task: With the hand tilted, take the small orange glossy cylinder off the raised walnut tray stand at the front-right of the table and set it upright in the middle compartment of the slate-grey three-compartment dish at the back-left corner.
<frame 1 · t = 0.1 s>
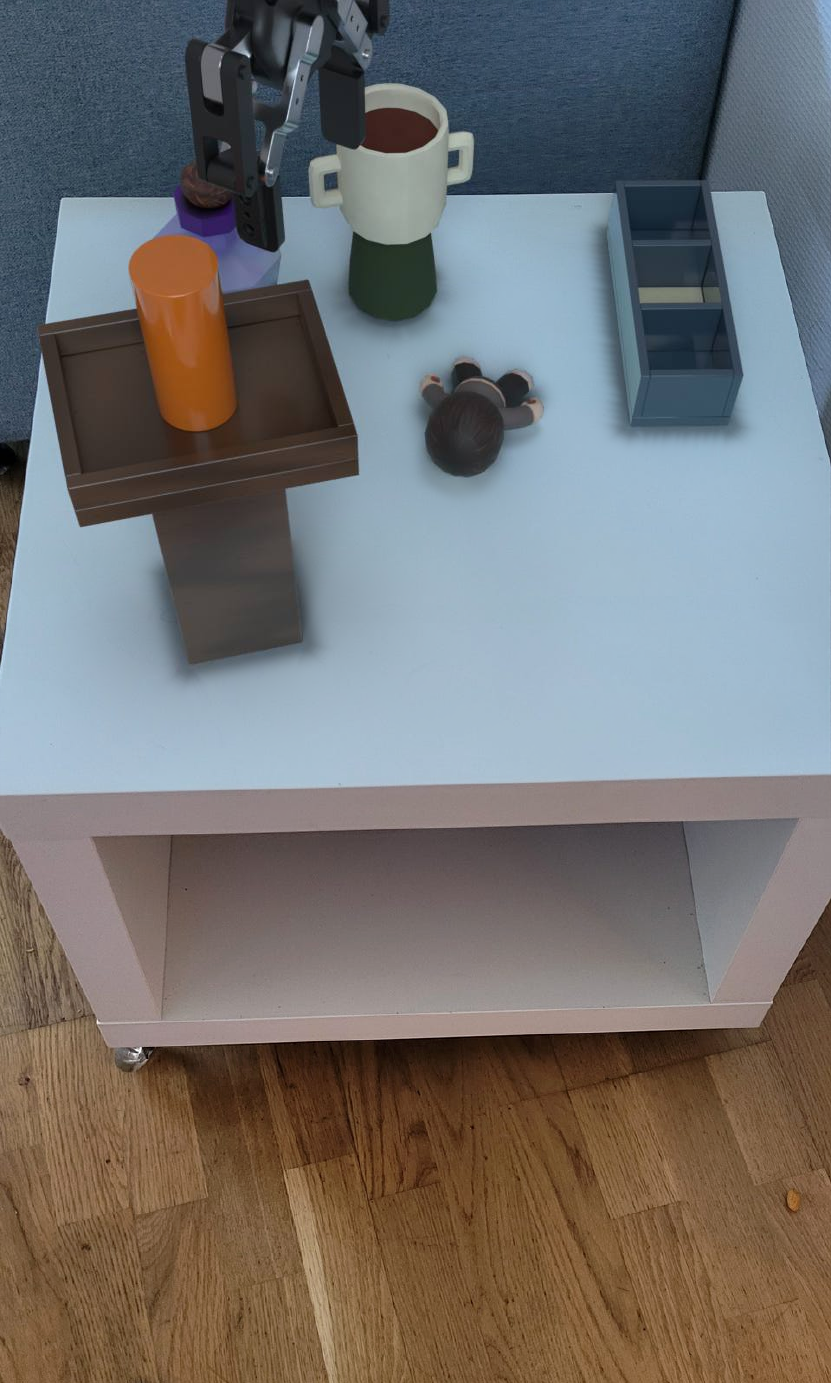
hand: (304, 191, 65), 21 cm above the table, tool pointing down, fingers open, 8 cm apart
character mug: (392, 298, 92), on the table
potion bottle: (228, 337, 91), on the table
orange glossy cylinder: (197, 402, 66), point 17 cm above the table, touching walnut tray stand
walnut tray stand: (235, 608, 81), on the table
three-compartment dish: (664, 326, 91), on the table
figurine: (472, 439, 87), on the table
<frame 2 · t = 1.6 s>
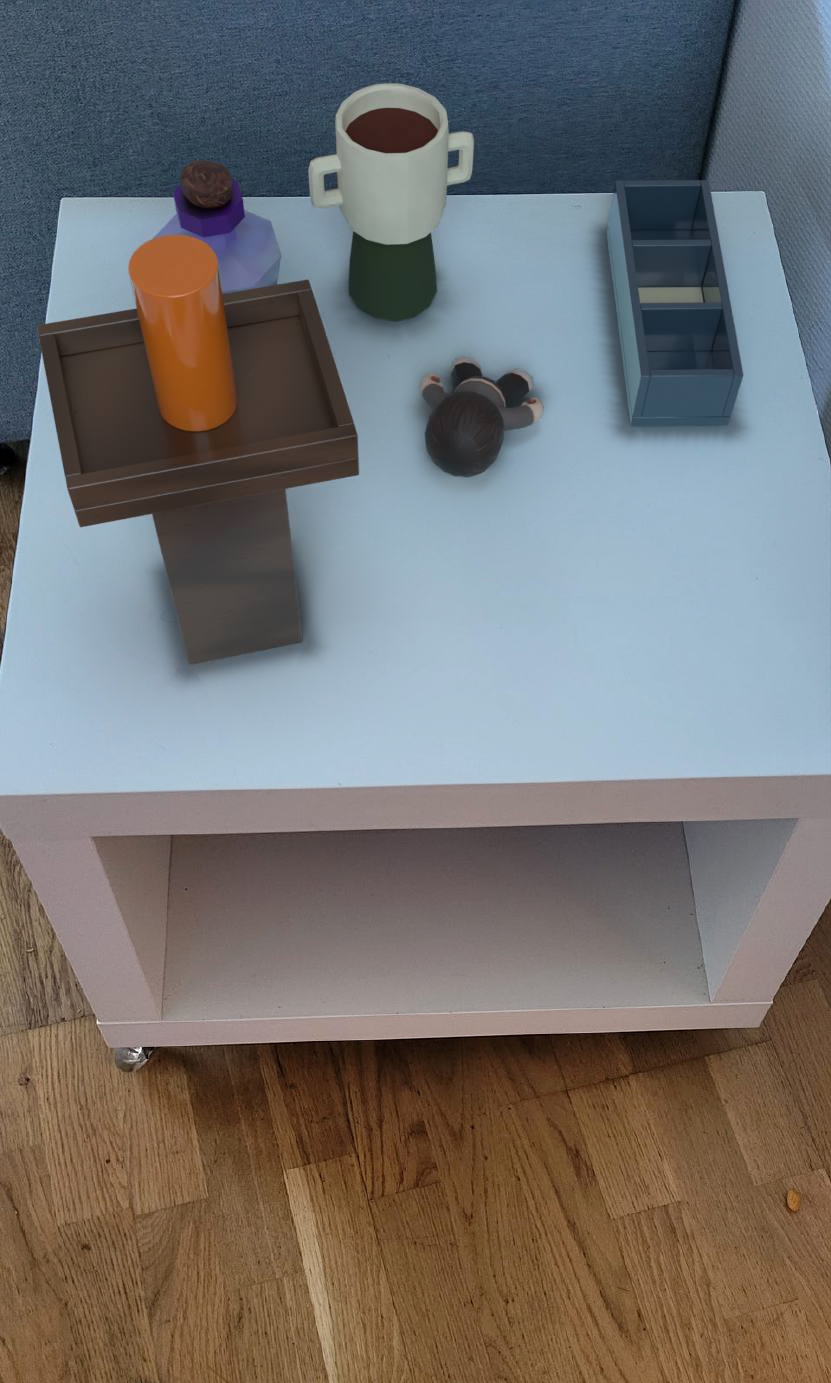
nothing on the table moved.
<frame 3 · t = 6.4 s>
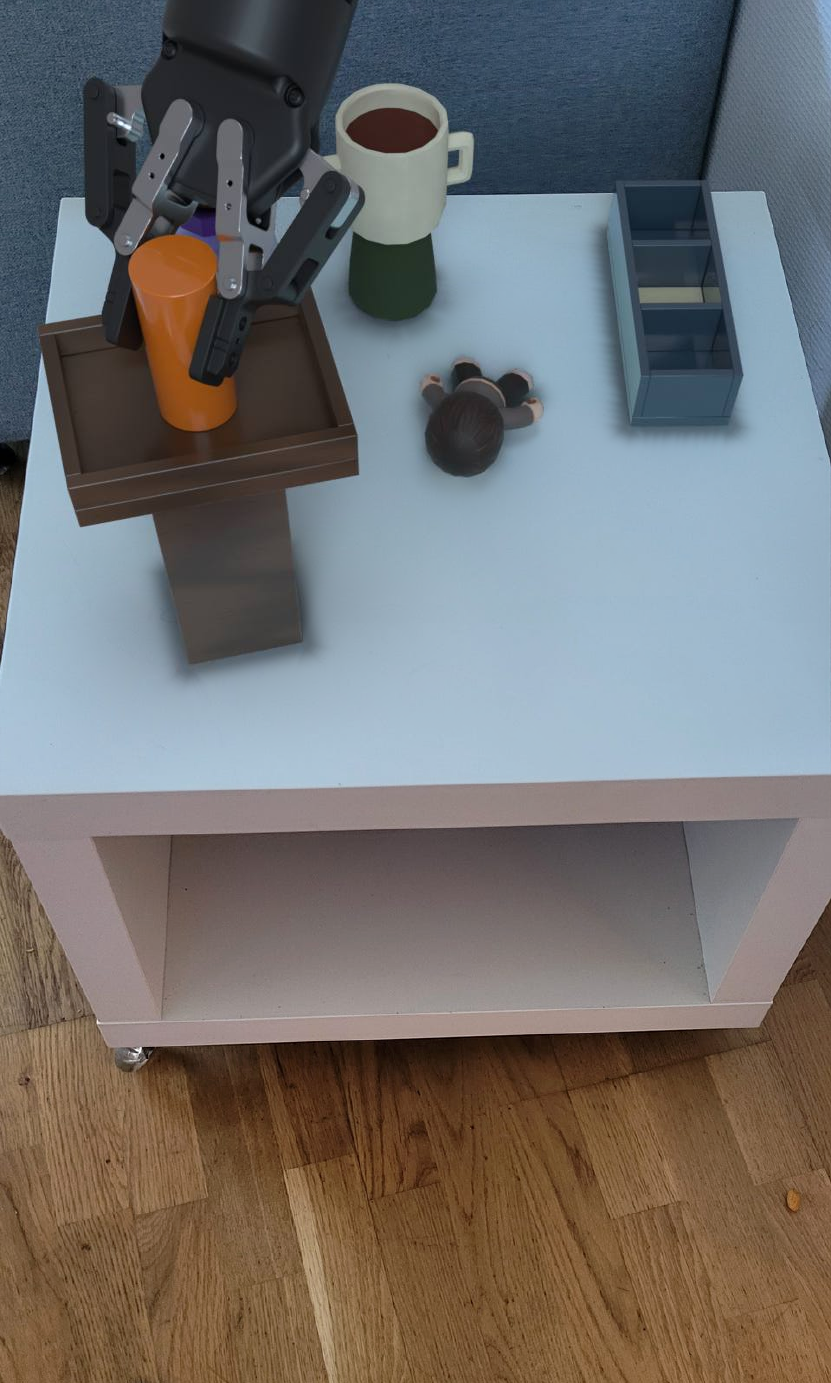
hand: (163, 362, 61), 21 cm above the table, tool tilted 45°, fingers closed on orange glossy cylinder, 4 cm apart
orange glossy cylinder: (198, 402, 66), point 17 cm above the table, touching gripper, walnut tray stand
everything else where it was.
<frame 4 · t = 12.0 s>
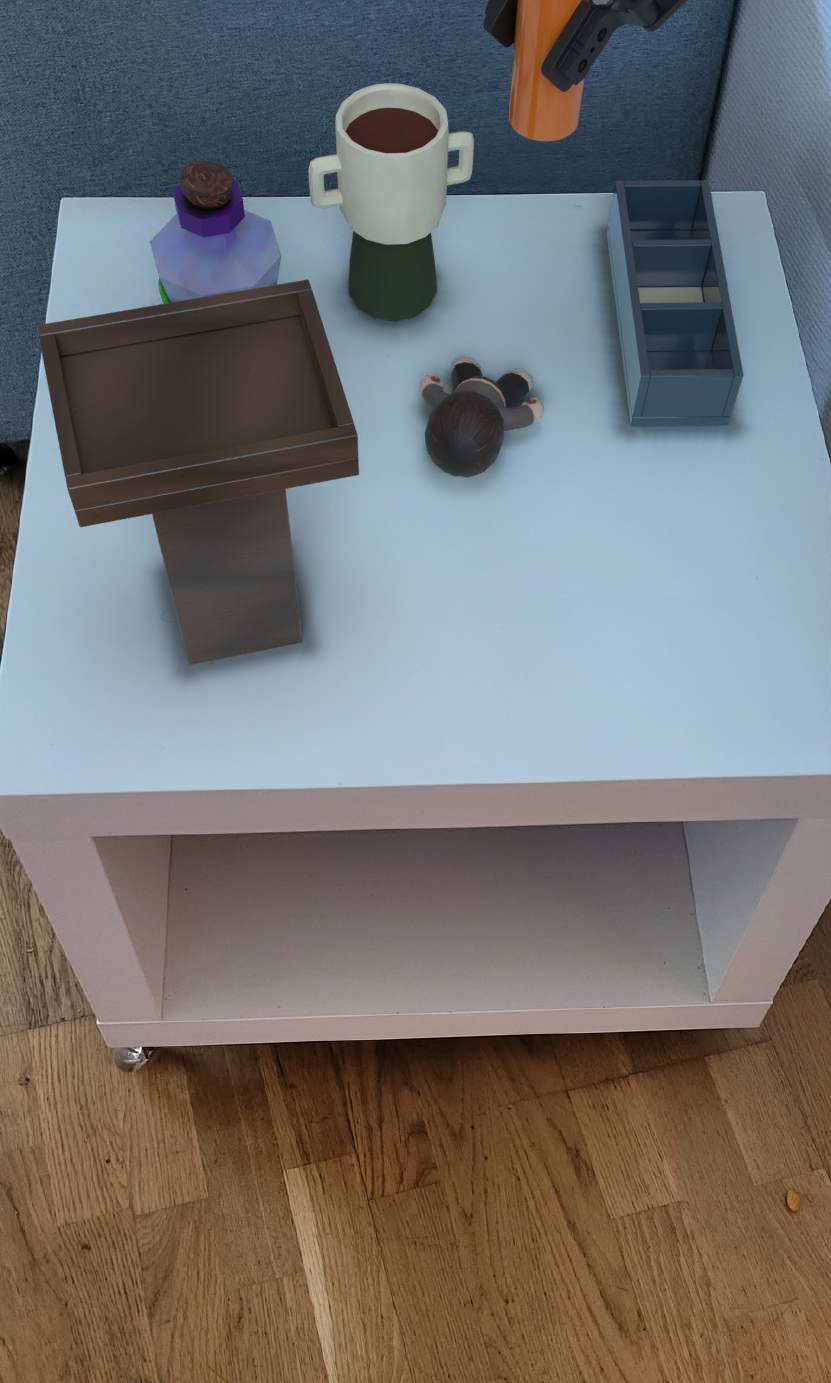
hand: (524, 59, 69), 22 cm above the table, tool tilted 45°, fingers closed on orange glossy cylinder, 4 cm apart
orange glossy cylinder: (543, 118, 73), point 18 cm above the table, touching gripper
everything else where it was.
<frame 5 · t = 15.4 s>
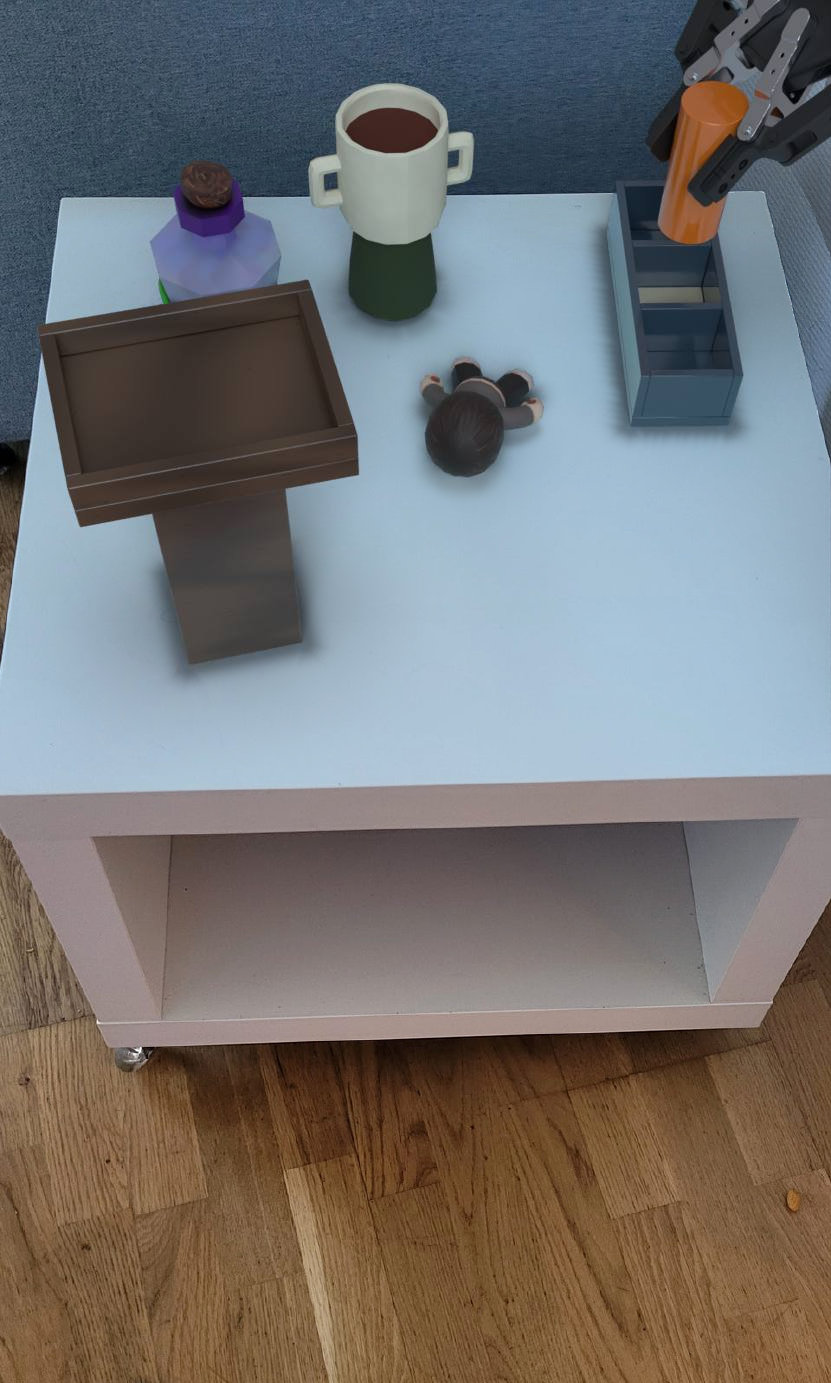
hand: (675, 175, 80), 12 cm above the table, tool tilted 45°, fingers closed on orange glossy cylinder, 4 cm apart
orange glossy cylinder: (688, 223, 84), point 8 cm above the table, touching gripper
everything else where it was.
when the fingers open (5 cm above the table, at t = 17.7 s): orange glossy cylinder stays where it is, resting on three-compartment dish.
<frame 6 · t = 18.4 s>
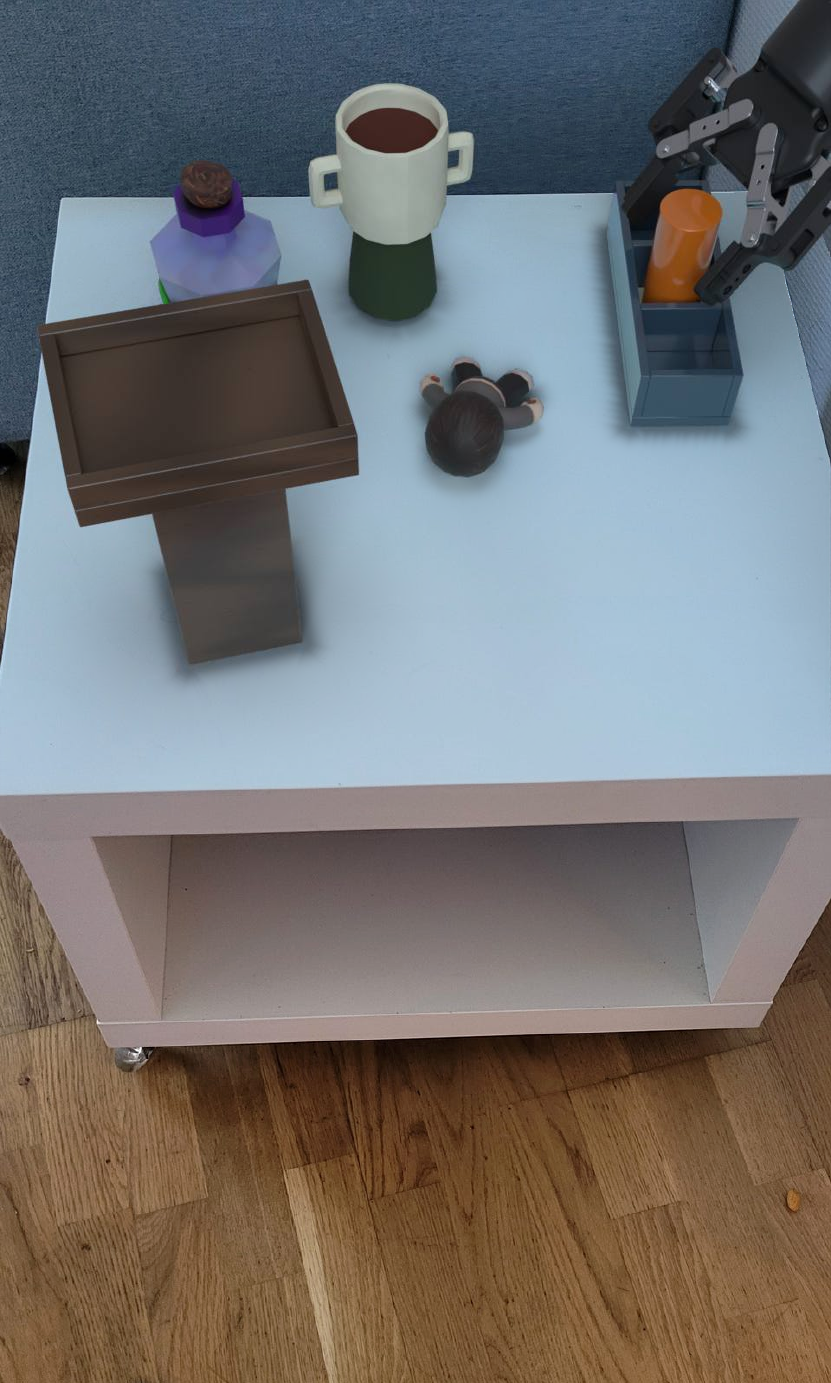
hand: (664, 258, 86), 6 cm above the table, tool tilted 45°, fingers open, 8 cm apart
orange glossy cylinder: (667, 313, 90), point 1 cm above the table, touching three-compartment dish
everything else where it was.
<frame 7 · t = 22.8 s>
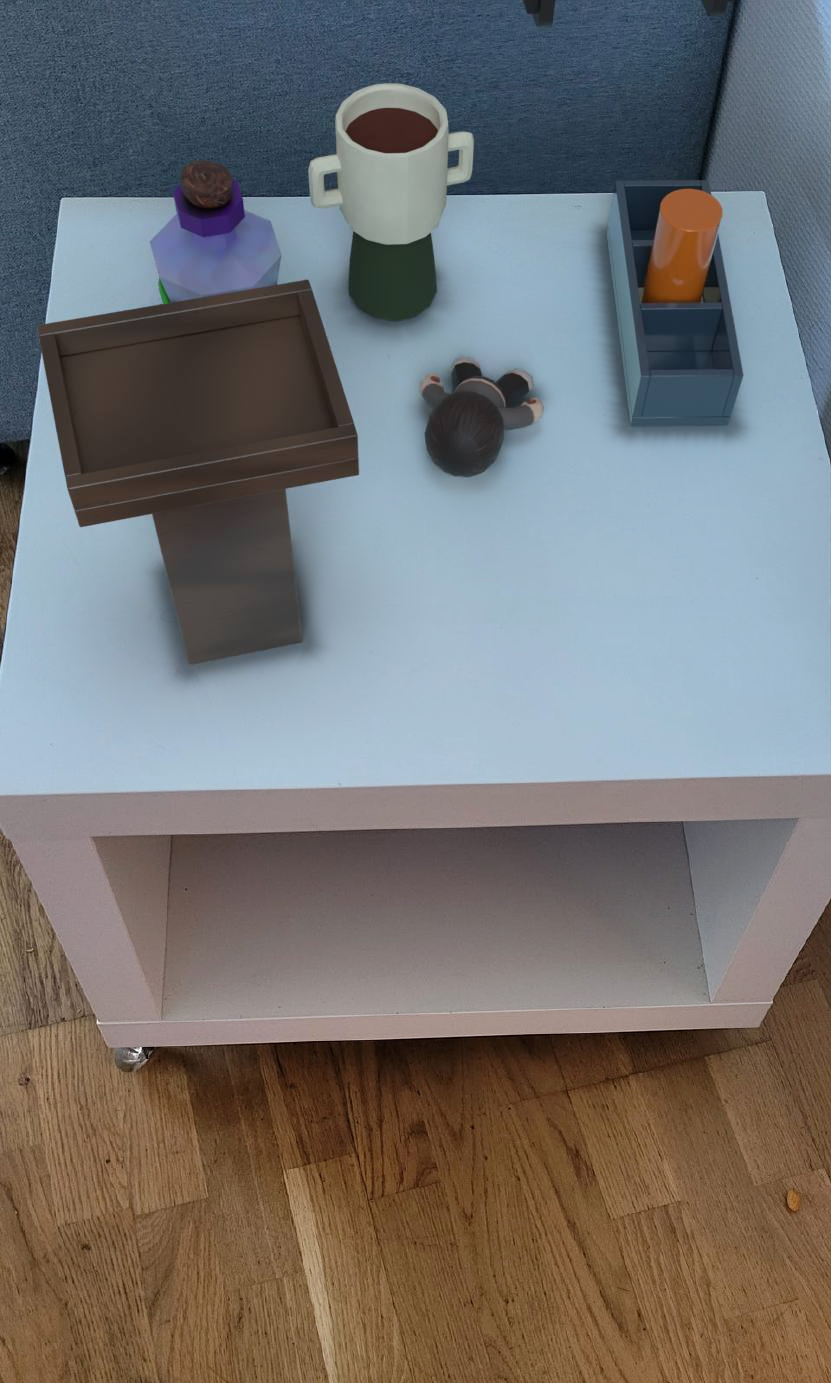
hand: (626, 13, 63), 26 cm above the table, tool pointing down, fingers open, 8 cm apart
nothing on the table moved.
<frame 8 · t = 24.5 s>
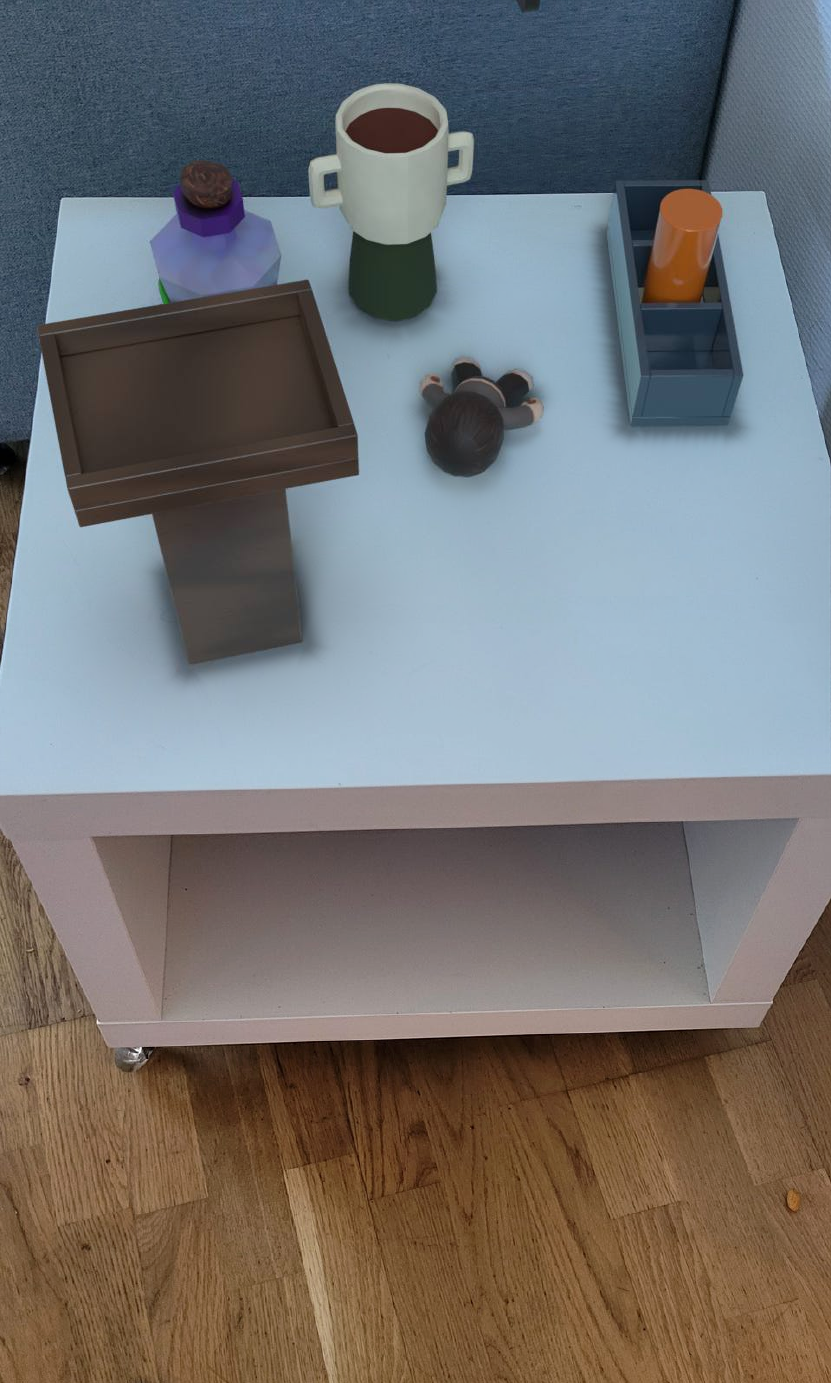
nothing on the table moved.
at the end: orange glossy cylinder 0.1 cm off-centre in the three-compartment dish, point 1.0 cm above the three-compartment dish's base; orange glossy cylinder tilted 0°; the gripper is holding nothing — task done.
